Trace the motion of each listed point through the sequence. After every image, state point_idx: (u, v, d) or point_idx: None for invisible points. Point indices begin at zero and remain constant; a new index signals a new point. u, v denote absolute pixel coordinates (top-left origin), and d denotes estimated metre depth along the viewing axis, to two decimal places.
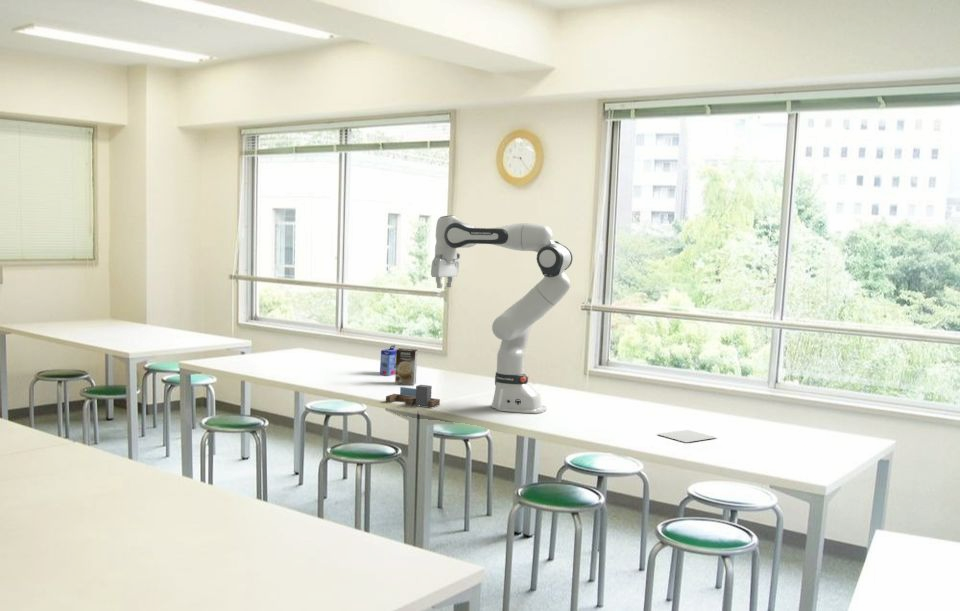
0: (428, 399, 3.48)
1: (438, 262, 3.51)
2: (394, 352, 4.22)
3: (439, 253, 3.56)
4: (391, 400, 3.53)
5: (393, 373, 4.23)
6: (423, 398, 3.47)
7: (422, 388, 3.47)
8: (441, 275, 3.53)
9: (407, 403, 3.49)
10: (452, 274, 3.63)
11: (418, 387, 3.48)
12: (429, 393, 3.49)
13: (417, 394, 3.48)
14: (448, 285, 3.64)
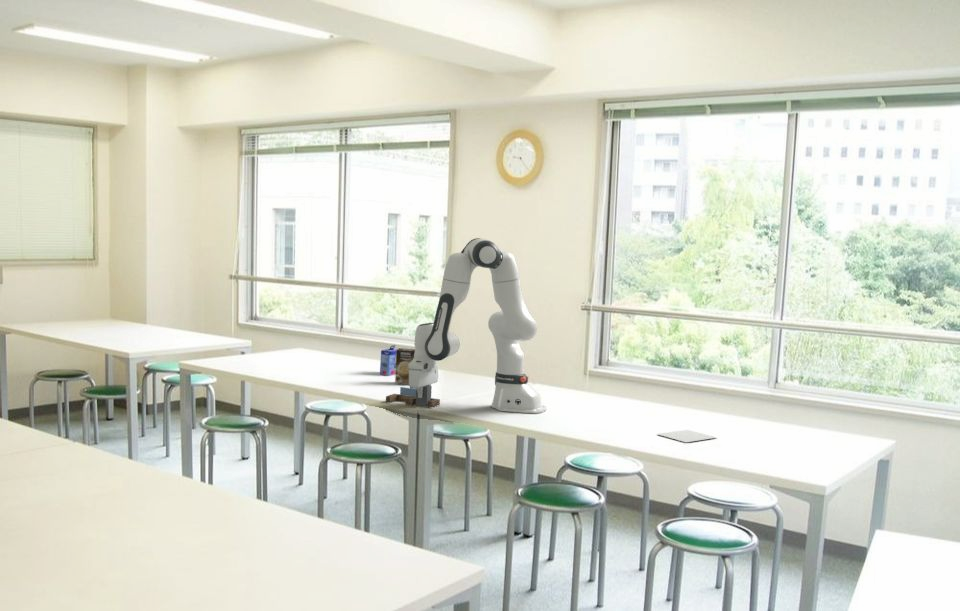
0: (428, 399, 3.48)
1: None
2: (394, 352, 4.22)
3: None
4: (391, 400, 3.53)
5: (393, 373, 4.23)
6: (423, 398, 3.47)
7: None
8: None
9: (407, 403, 3.49)
10: None
11: None
12: (429, 393, 3.49)
13: (417, 394, 3.48)
14: None
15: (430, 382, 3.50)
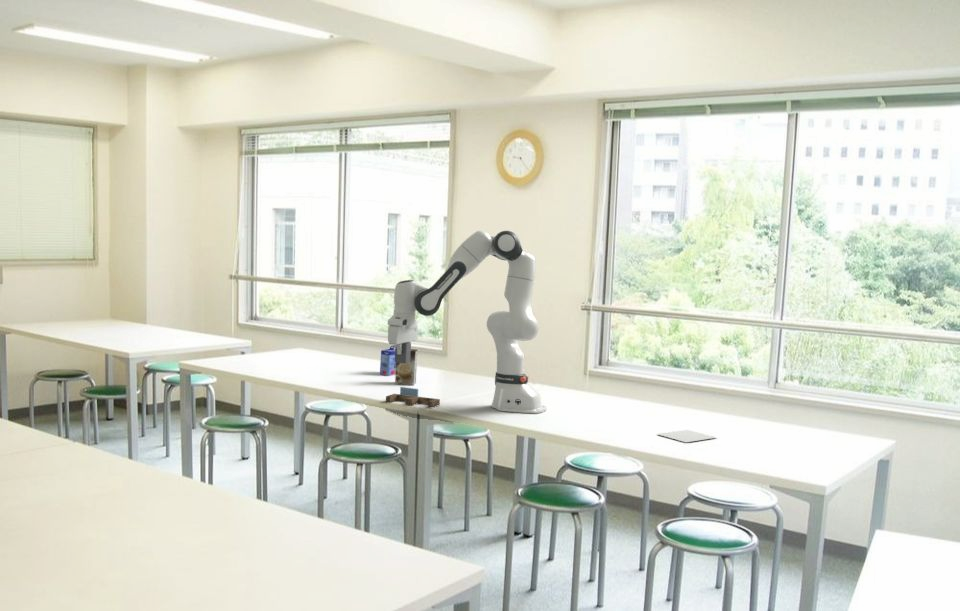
0: (407, 356, 3.51)
1: None
2: (394, 352, 4.22)
3: None
4: (391, 400, 3.53)
5: (393, 373, 4.23)
6: (403, 354, 3.50)
7: None
8: None
9: (407, 403, 3.49)
10: None
11: None
12: (408, 350, 3.51)
13: (396, 351, 3.51)
14: None
15: (409, 339, 3.53)
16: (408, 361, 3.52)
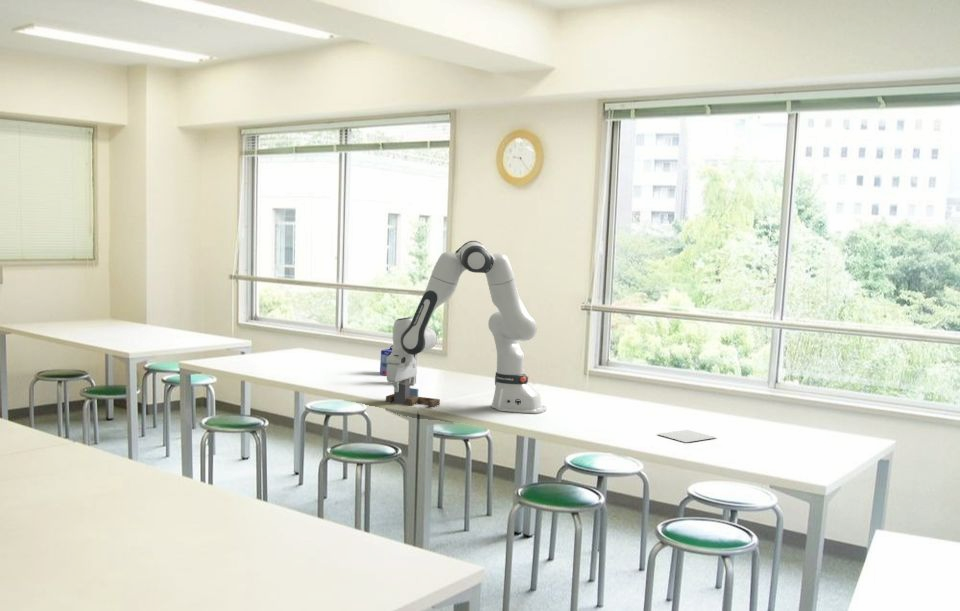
0: (406, 396, 3.52)
1: None
2: None
3: None
4: (391, 400, 3.53)
5: None
6: (402, 395, 3.51)
7: (400, 385, 3.51)
8: None
9: (407, 403, 3.49)
10: None
11: None
12: (407, 390, 3.53)
13: None
14: None
15: (408, 376, 3.54)
16: None
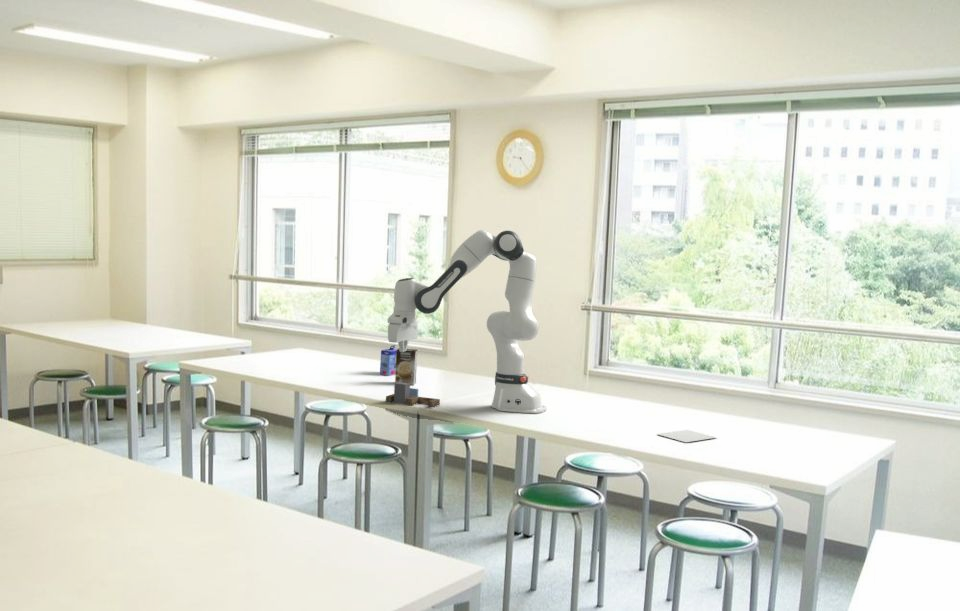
0: (406, 396, 3.52)
1: None
2: (394, 352, 4.22)
3: None
4: (391, 400, 3.53)
5: (393, 373, 4.23)
6: (402, 395, 3.51)
7: (400, 385, 3.51)
8: None
9: (407, 403, 3.49)
10: None
11: (396, 384, 3.52)
12: (407, 390, 3.53)
13: (395, 391, 3.52)
14: None
15: (409, 337, 3.53)
16: None
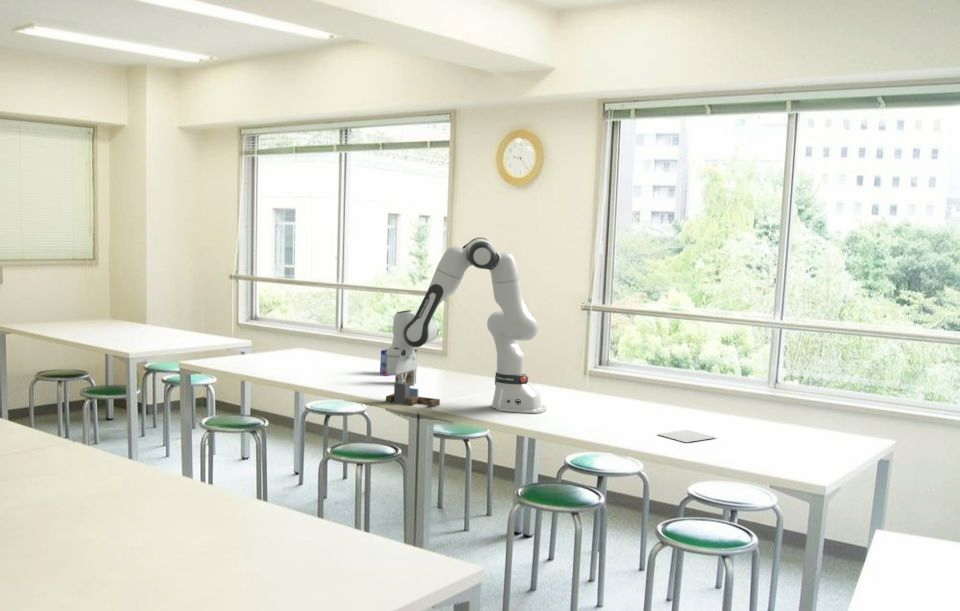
0: (406, 396, 3.52)
1: None
2: None
3: None
4: (391, 400, 3.53)
5: None
6: (401, 395, 3.51)
7: (400, 385, 3.51)
8: None
9: (407, 403, 3.49)
10: None
11: (396, 384, 3.52)
12: (407, 390, 3.53)
13: (395, 391, 3.52)
14: None
15: (408, 369, 3.54)
16: None
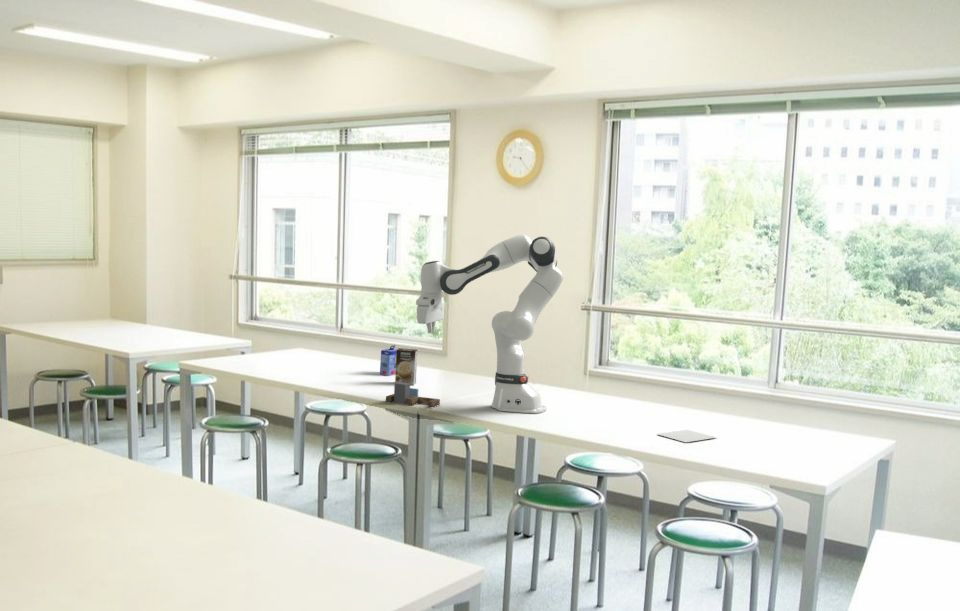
0: (406, 396, 3.52)
1: None
2: (394, 352, 4.22)
3: None
4: (391, 400, 3.53)
5: (393, 373, 4.23)
6: (402, 395, 3.51)
7: (400, 385, 3.51)
8: None
9: (407, 403, 3.49)
10: None
11: (396, 384, 3.52)
12: (407, 390, 3.53)
13: (395, 391, 3.52)
14: None
15: (437, 318, 3.64)
16: None
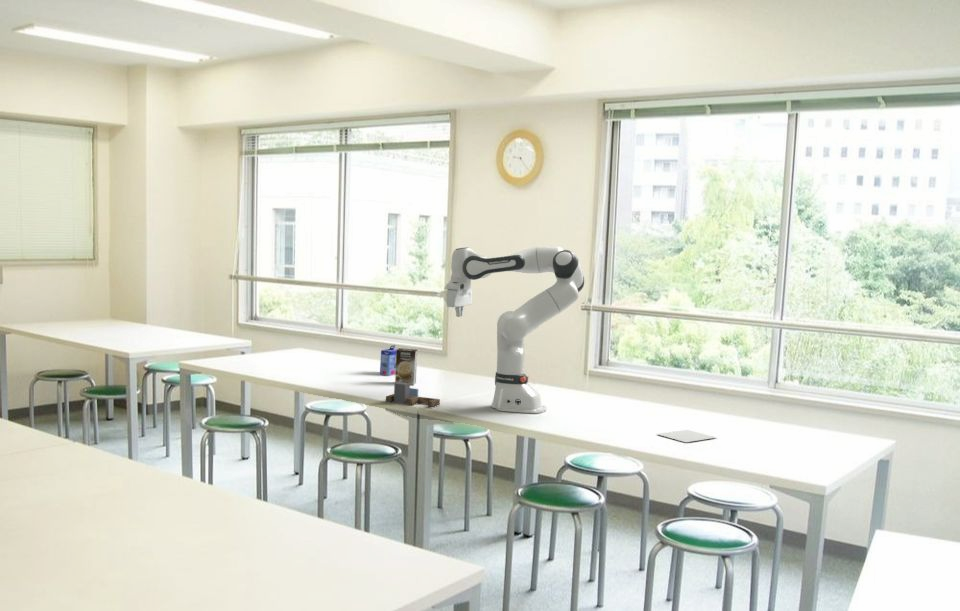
0: (406, 396, 3.52)
1: None
2: (394, 352, 4.22)
3: None
4: (391, 400, 3.53)
5: (393, 373, 4.23)
6: (402, 395, 3.51)
7: (400, 385, 3.51)
8: None
9: (407, 403, 3.49)
10: None
11: (396, 384, 3.52)
12: (407, 390, 3.53)
13: (395, 391, 3.52)
14: None
15: (465, 303, 3.76)
16: None
